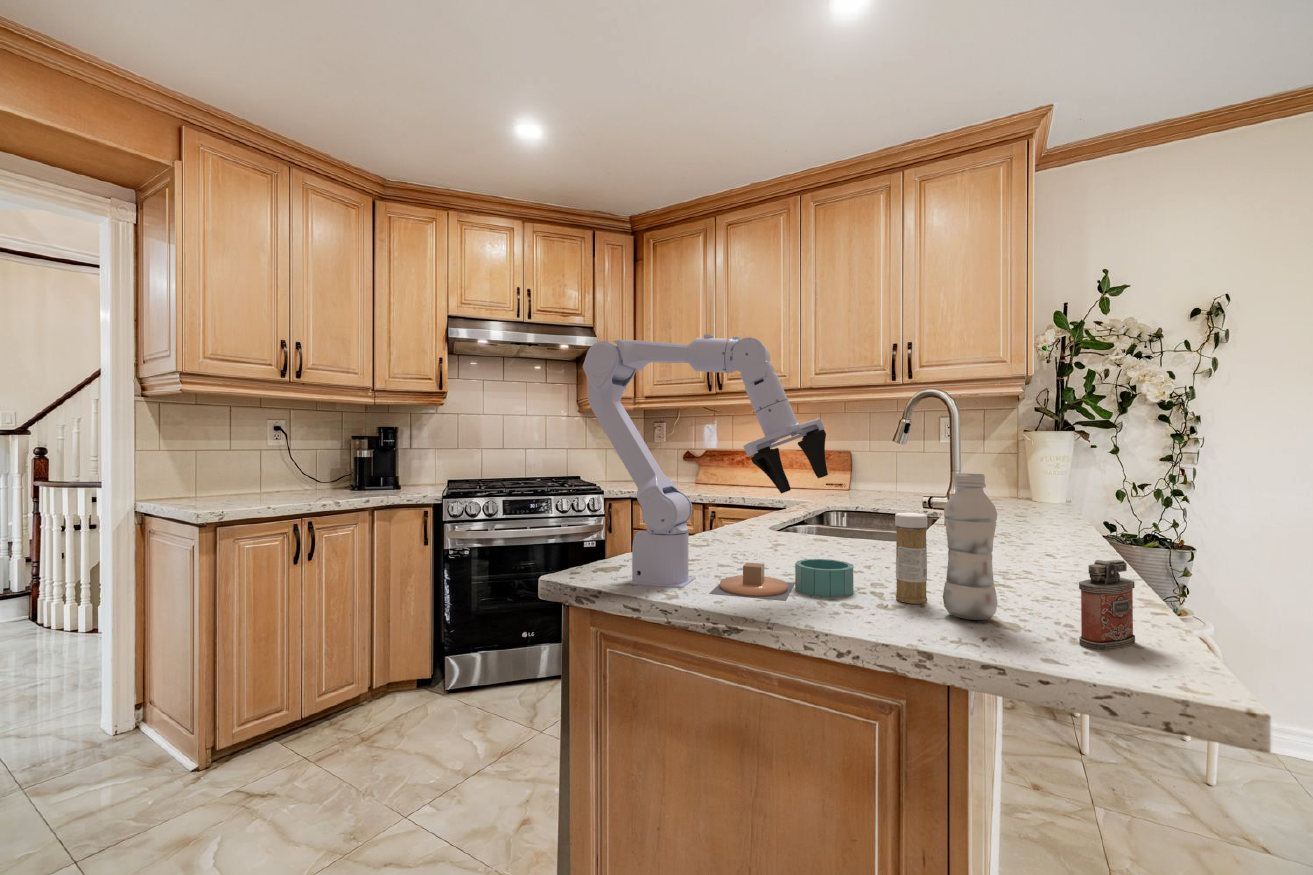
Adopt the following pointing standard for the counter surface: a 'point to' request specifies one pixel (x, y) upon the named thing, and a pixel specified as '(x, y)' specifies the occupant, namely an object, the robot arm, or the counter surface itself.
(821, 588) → the bowl
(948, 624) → the counter surface
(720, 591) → the mat
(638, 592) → the counter surface
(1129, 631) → the lighter
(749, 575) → the lid
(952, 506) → the plastic bottle
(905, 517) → the sprinkles bottle
